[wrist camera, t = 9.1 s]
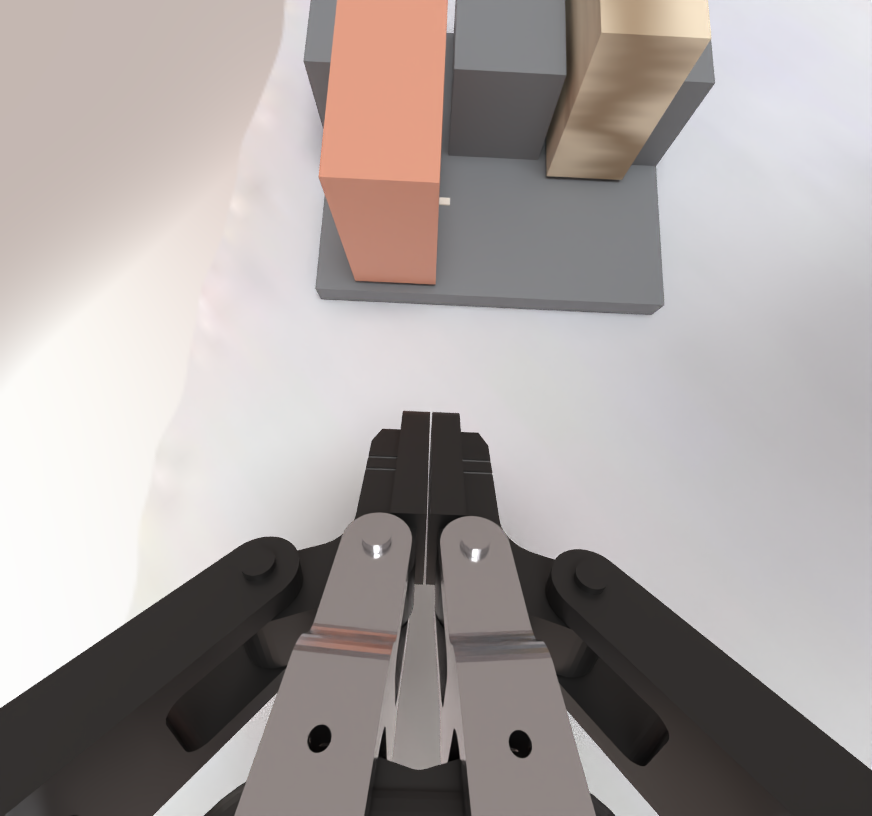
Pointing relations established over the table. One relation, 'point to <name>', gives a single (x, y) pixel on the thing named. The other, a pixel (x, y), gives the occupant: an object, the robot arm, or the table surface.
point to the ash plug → (620, 80)
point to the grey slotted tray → (518, 177)
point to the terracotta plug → (386, 136)
